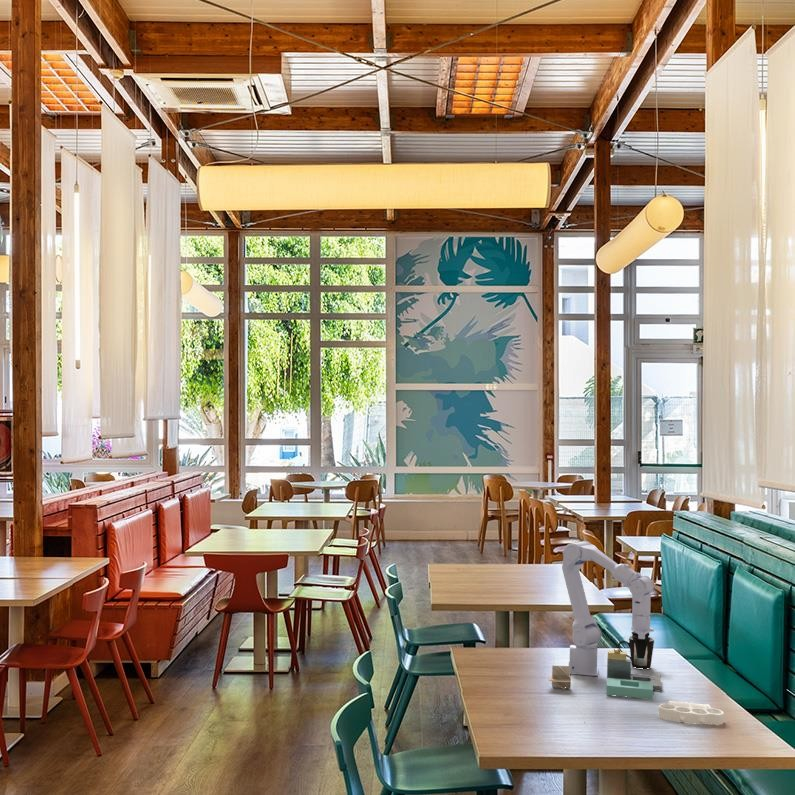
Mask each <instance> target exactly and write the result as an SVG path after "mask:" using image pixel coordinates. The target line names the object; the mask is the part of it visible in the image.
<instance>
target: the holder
mask: <svg viewBox="0 0 795 795" xmlns="http://www.w3.org/2000/svg"><path fill="white" fill-rule="evenodd" d="M609 695H616V696H615V697H619V696H627V697H626V698H630V697H636V698H635V699H640V698H643V699H642V700H651V699H653V700H654V691H653V685H652V682H649V681H638V680H627V679H616V678H607V677H606V696H609Z"/></svg>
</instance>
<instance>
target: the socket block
mask: <svg viewBox="0 0 795 795" xmlns="http://www.w3.org/2000/svg"><path fill="white" fill-rule="evenodd" d="M606 665H607V666H606V669H607V670H606V679H607V678H616V679H627V680H638V681H649V682H652V685H653V690H660V691H659V692H662V691H663V690H662V681H661V676H660V675H650V674H638V673H631V672H632V664H631V660H630V658H629V659H628V658H626V660H616V659H608V657H607V662H606Z"/></svg>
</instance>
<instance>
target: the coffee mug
mask: <svg viewBox="0 0 795 795" xmlns="http://www.w3.org/2000/svg"><path fill="white" fill-rule="evenodd" d="M648 637H649V638H650V641H649V643H648V645H647V665H646V666H638V665H635V664H634V640H633V638H632V635H630V636H628V641H626V640H621V641H619V642H618V644H617V647H618V648H617V649H620V652H624V651H623V650H622V649H621V647H620V646H621V644H623V643H625V644H627V647H628V648H629V652H630V655H628V654H627V657H626V658H627V659H628V658H629V660H631V667H632V666H633V667H636V668H643V669H647V668H650V667H651V666H652V660H653V653H654V652H653V651H654V643H655V638H654V637H651V636H648ZM633 667H632V668H633ZM636 668H635V669H636ZM650 669H651V668H650ZM647 670H648V669H647Z"/></svg>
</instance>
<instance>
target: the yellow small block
mask: <svg viewBox="0 0 795 795" xmlns="http://www.w3.org/2000/svg"><path fill="white" fill-rule="evenodd" d="M620 649H621V648H620ZM620 649H619V648H613V650H611V651H610V650H607V658H608V659H616V660H626V659H627V658H628V657H627V655H628V654H627V652H625V651H623V652H621V651H620Z"/></svg>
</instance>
